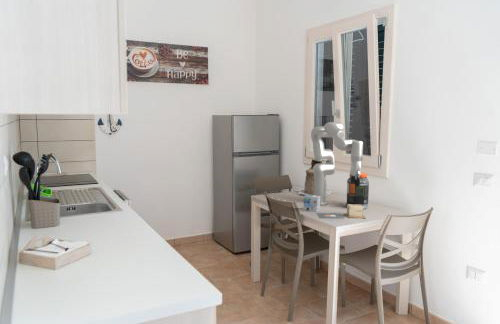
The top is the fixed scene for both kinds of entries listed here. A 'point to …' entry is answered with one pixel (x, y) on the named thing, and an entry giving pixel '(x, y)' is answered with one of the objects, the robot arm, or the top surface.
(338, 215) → the mat
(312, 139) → the robot arm
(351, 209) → the birch block
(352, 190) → the supplement tub
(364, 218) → the walnut pad
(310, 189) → the burlap sack
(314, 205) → the light bulb box
